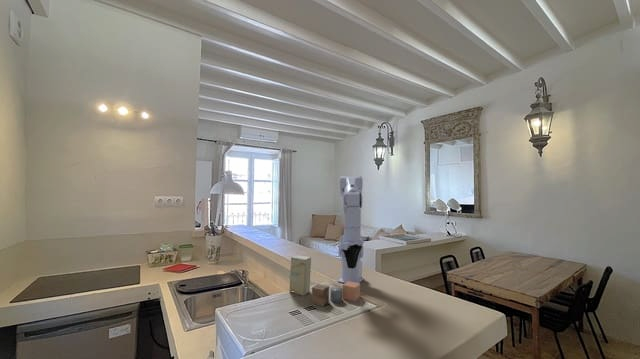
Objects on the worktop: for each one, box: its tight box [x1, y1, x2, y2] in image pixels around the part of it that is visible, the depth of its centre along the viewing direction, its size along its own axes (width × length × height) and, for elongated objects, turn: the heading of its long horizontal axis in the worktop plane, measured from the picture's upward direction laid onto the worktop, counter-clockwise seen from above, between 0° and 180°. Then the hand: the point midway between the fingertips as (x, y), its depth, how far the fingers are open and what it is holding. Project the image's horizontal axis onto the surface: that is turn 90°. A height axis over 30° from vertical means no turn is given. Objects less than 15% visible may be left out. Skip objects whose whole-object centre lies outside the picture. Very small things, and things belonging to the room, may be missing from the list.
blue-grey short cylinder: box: [329, 286, 343, 304], centre depth 82 cm, size 4×4×4 cm
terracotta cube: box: [342, 281, 361, 302], centre depth 84 cm, size 4×4×4 cm
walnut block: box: [311, 283, 330, 307], centre depth 80 cm, size 4×4×5 cm
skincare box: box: [288, 254, 312, 296], centre depth 89 cm, size 6×4×12 cm
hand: (351, 267), depth 85 cm, fingers closed
